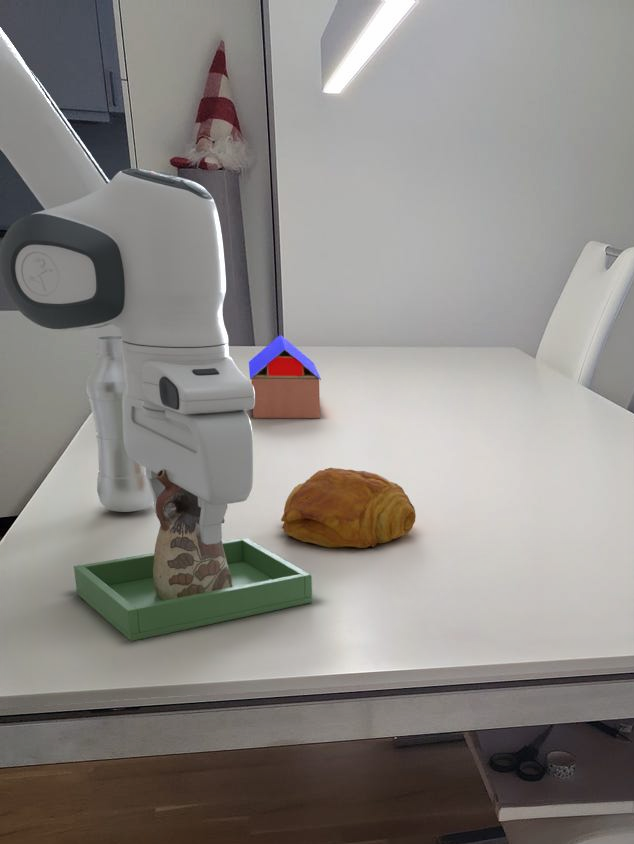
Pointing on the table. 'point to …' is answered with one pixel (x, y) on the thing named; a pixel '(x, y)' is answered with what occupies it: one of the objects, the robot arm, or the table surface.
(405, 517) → the croissant
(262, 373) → the house
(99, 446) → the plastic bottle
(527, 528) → the table surface
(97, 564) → the green tray
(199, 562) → the figurine
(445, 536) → the table surface
